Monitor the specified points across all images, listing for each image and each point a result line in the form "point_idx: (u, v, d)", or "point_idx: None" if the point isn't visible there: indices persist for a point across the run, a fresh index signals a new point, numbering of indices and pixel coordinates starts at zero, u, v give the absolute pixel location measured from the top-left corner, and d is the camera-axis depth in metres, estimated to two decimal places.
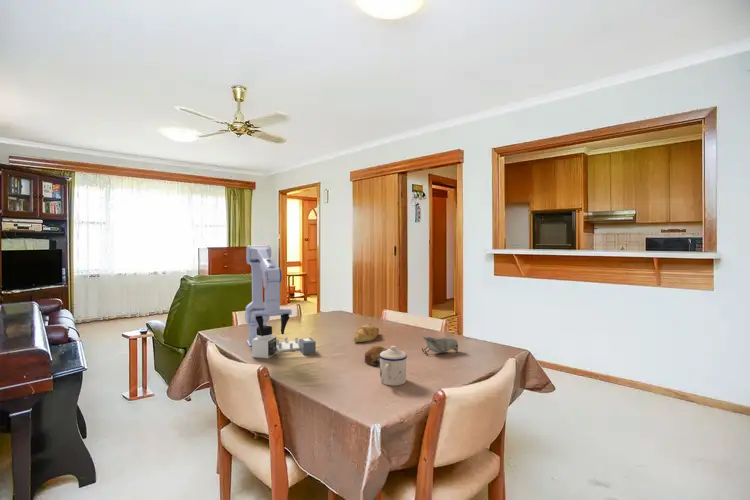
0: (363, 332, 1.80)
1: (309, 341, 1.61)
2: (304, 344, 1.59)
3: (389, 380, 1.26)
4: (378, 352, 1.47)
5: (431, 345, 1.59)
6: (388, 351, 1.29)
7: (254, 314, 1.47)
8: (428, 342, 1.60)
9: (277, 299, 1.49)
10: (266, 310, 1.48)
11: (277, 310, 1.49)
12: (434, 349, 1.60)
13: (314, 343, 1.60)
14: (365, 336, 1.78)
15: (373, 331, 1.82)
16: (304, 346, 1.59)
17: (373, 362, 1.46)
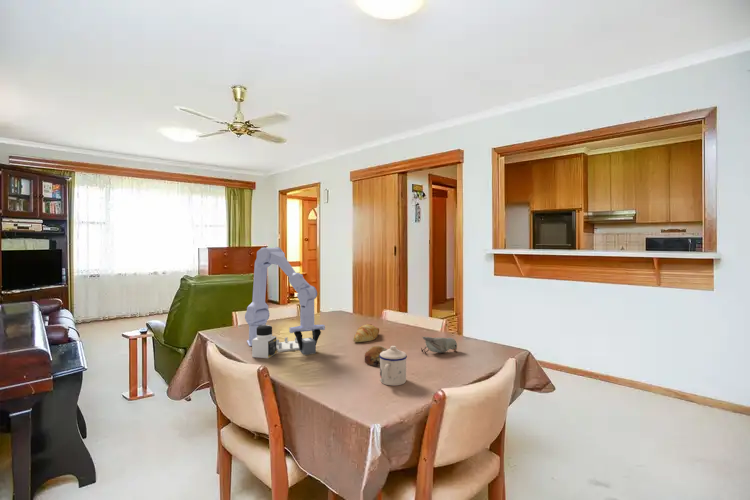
0: (363, 332, 1.79)
1: (309, 341, 1.61)
2: (304, 344, 1.59)
3: (389, 380, 1.26)
4: (378, 352, 1.47)
5: (430, 345, 1.59)
6: (388, 351, 1.29)
7: (291, 330, 1.59)
8: (427, 342, 1.60)
9: None
10: (302, 326, 1.60)
11: (312, 326, 1.61)
12: (433, 349, 1.60)
13: (314, 343, 1.60)
14: (365, 336, 1.78)
15: (373, 331, 1.82)
16: (304, 346, 1.59)
17: (373, 362, 1.45)
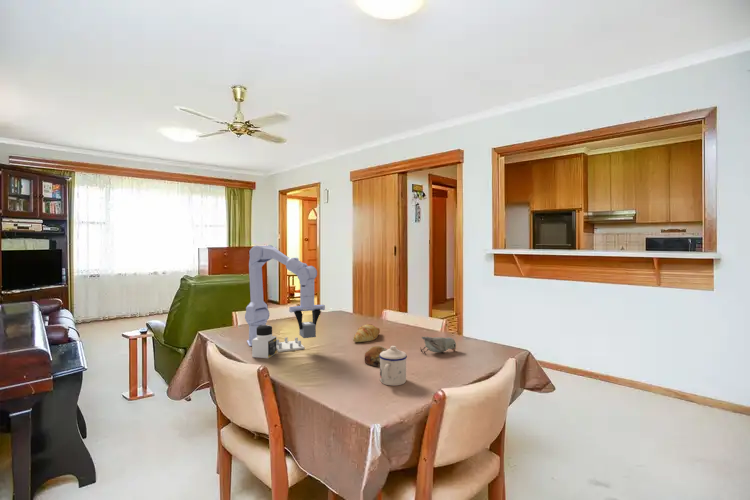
0: (363, 332, 1.79)
1: (309, 324, 1.61)
2: (304, 327, 1.58)
3: (389, 380, 1.26)
4: (378, 352, 1.47)
5: (429, 345, 1.59)
6: (388, 351, 1.29)
7: (291, 309, 1.59)
8: (426, 342, 1.60)
9: None
10: (302, 305, 1.60)
11: (312, 305, 1.61)
12: (432, 349, 1.60)
13: (314, 326, 1.60)
14: (365, 336, 1.78)
15: (373, 331, 1.82)
16: (304, 329, 1.58)
17: (373, 362, 1.45)
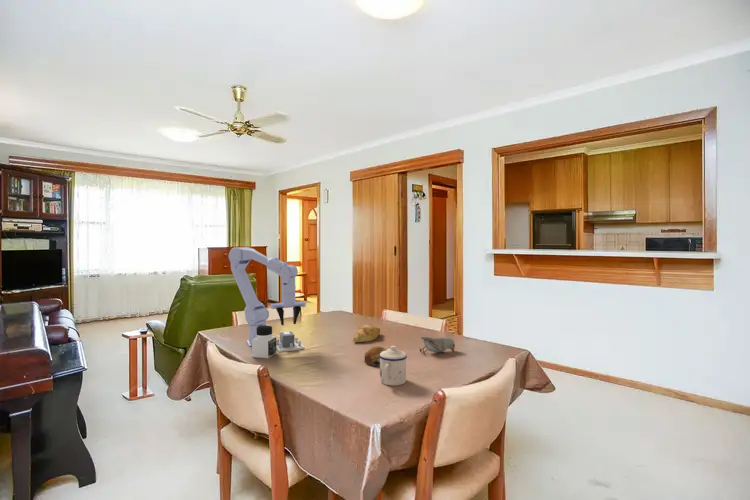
0: (363, 332, 1.79)
1: (288, 334, 1.68)
2: (283, 337, 1.66)
3: (389, 380, 1.26)
4: (378, 352, 1.47)
5: (429, 345, 1.59)
6: (388, 351, 1.29)
7: (273, 306, 1.66)
8: (426, 342, 1.60)
9: None
10: (283, 302, 1.67)
11: (293, 302, 1.68)
12: (432, 349, 1.60)
13: (293, 336, 1.67)
14: (365, 336, 1.78)
15: (373, 331, 1.82)
16: (283, 339, 1.66)
17: (373, 362, 1.45)
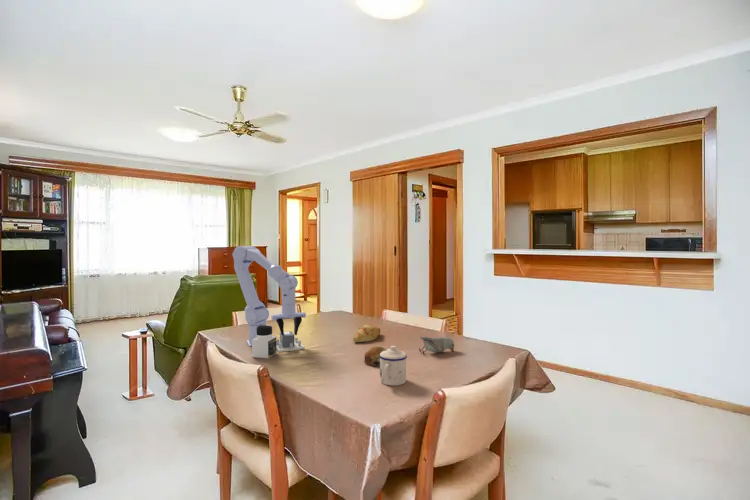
0: (363, 332, 1.79)
1: (288, 334, 1.68)
2: (283, 337, 1.66)
3: (389, 380, 1.26)
4: (378, 352, 1.47)
5: (428, 345, 1.59)
6: (388, 351, 1.29)
7: (273, 317, 1.66)
8: (425, 342, 1.60)
9: None
10: (283, 313, 1.67)
11: (293, 313, 1.68)
12: (431, 349, 1.60)
13: (293, 336, 1.67)
14: (365, 336, 1.78)
15: (373, 331, 1.82)
16: (283, 339, 1.66)
17: (373, 362, 1.45)
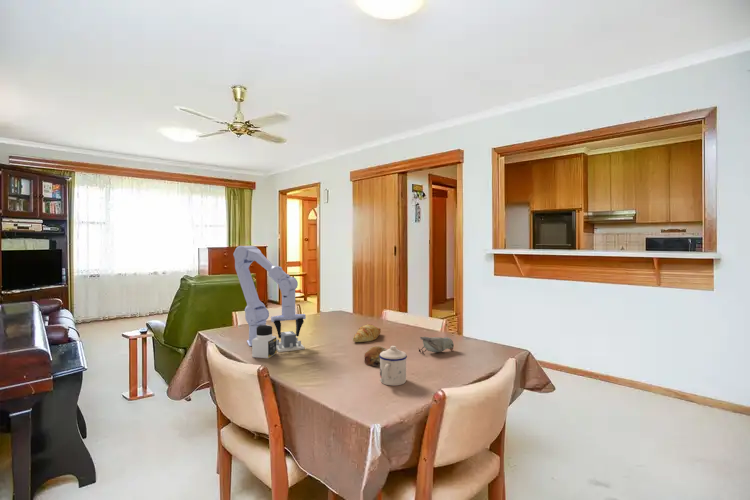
0: (363, 332, 1.79)
1: (290, 334, 1.68)
2: (285, 337, 1.66)
3: (389, 380, 1.26)
4: (378, 353, 1.46)
5: (428, 345, 1.59)
6: (388, 351, 1.29)
7: (273, 319, 1.66)
8: (425, 342, 1.60)
9: None
10: (283, 315, 1.67)
11: (293, 315, 1.68)
12: (431, 349, 1.60)
13: (294, 336, 1.68)
14: (364, 336, 1.78)
15: (373, 331, 1.82)
16: (285, 339, 1.66)
17: (373, 363, 1.45)
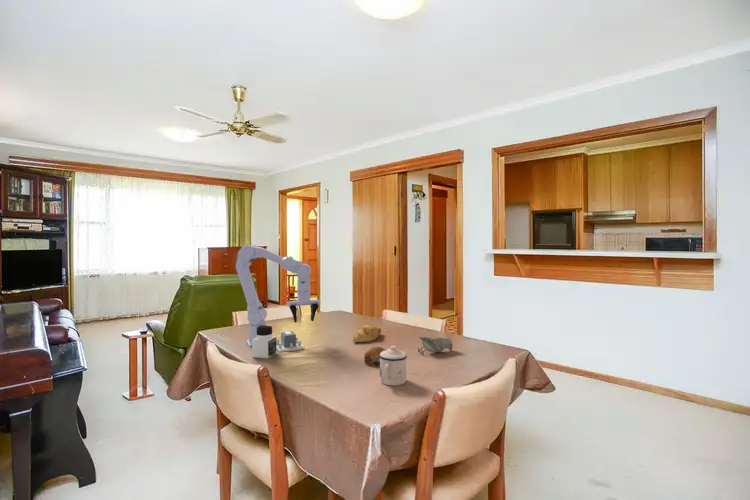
0: (363, 332, 1.79)
1: (290, 334, 1.68)
2: (285, 337, 1.66)
3: (389, 380, 1.26)
4: (378, 353, 1.46)
5: (427, 345, 1.59)
6: (388, 351, 1.29)
7: (289, 303, 1.72)
8: (424, 342, 1.60)
9: None
10: (299, 300, 1.73)
11: (308, 300, 1.74)
12: (430, 349, 1.60)
13: (294, 336, 1.68)
14: (364, 336, 1.78)
15: (373, 331, 1.82)
16: (285, 339, 1.66)
17: (373, 363, 1.45)
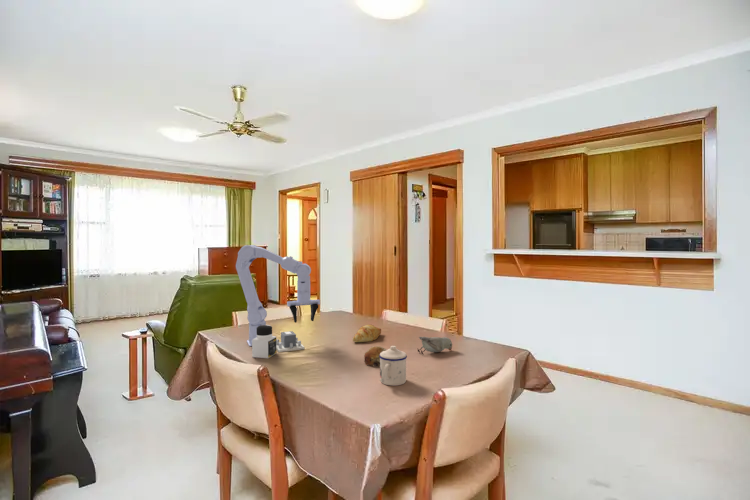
0: (363, 332, 1.79)
1: (290, 334, 1.68)
2: (285, 337, 1.66)
3: (389, 380, 1.26)
4: (378, 353, 1.46)
5: (427, 345, 1.59)
6: (388, 351, 1.29)
7: (289, 303, 1.72)
8: (424, 342, 1.60)
9: None
10: (299, 300, 1.73)
11: (308, 300, 1.74)
12: (430, 349, 1.60)
13: (294, 336, 1.68)
14: (364, 336, 1.78)
15: (373, 332, 1.81)
16: (285, 339, 1.66)
17: (373, 363, 1.45)
